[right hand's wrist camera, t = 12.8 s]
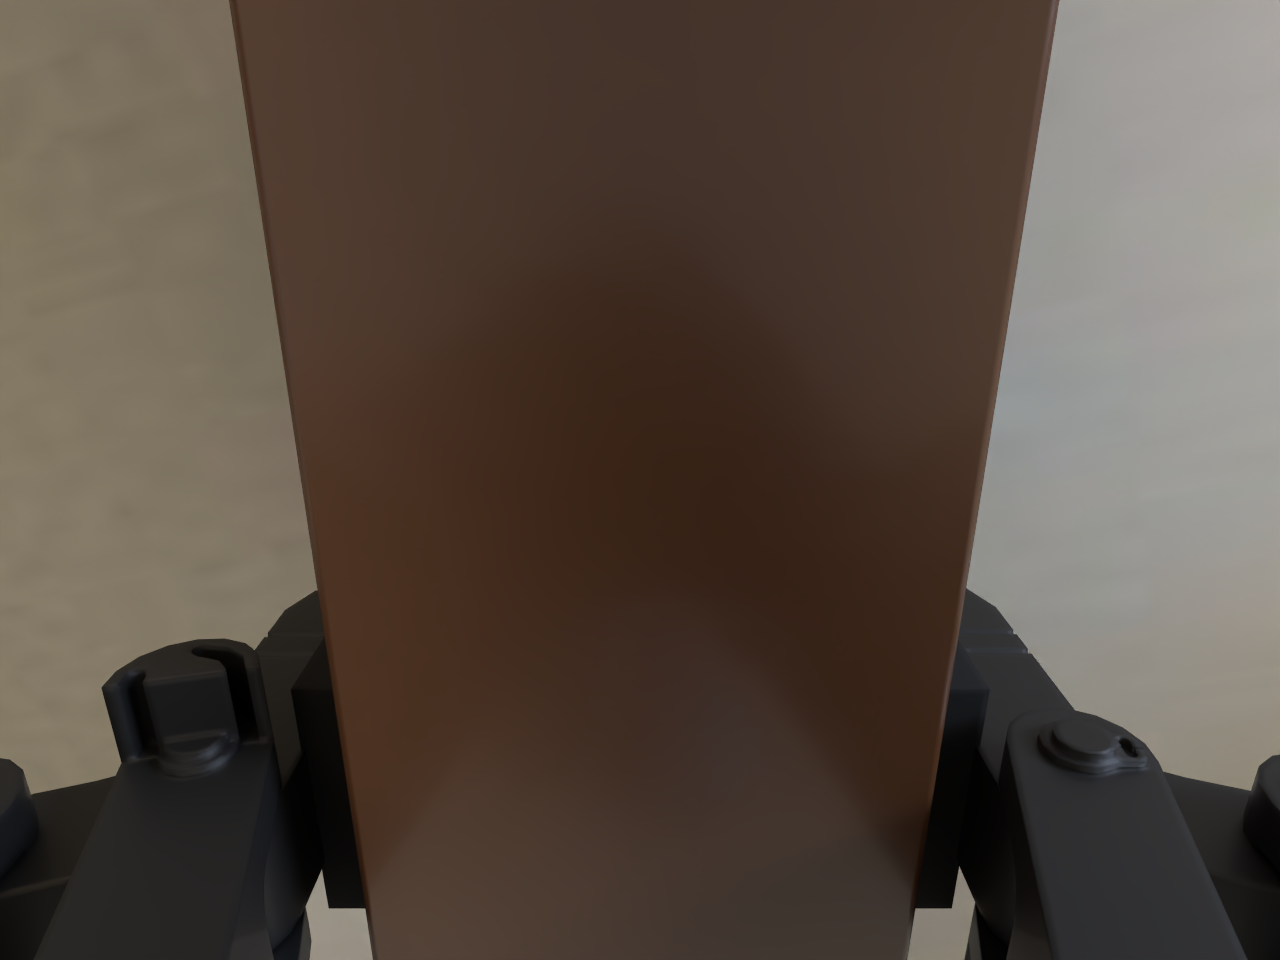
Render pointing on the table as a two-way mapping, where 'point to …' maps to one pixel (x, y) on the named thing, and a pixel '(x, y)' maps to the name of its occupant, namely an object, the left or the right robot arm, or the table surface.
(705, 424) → the walnut beam
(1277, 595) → the table surface
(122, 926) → the right robot arm
